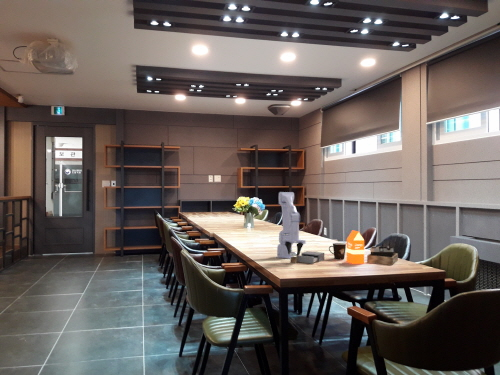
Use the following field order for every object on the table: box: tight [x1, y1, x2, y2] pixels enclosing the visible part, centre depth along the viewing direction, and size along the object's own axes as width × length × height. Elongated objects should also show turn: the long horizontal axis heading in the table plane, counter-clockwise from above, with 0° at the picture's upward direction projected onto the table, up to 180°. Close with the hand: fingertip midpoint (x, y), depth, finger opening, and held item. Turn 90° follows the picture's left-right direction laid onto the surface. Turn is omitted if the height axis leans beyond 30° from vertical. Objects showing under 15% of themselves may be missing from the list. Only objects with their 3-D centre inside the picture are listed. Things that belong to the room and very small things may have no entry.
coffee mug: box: [328, 242, 347, 261], centre depth 252 cm, size 12×9×10 cm
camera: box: [370, 245, 395, 257], centre depth 244 cm, size 15×11×10 cm
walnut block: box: [289, 256, 298, 264], centre depth 235 cm, size 3×3×4 cm
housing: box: [300, 250, 325, 263], centre depth 247 cm, size 12×10×4 cm
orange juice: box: [346, 229, 365, 265], centre depth 239 cm, size 8×9×20 cm
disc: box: [289, 251, 298, 257], centre depth 235 cm, size 6×6×2 cm
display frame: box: [366, 252, 399, 266], centre depth 244 cm, size 15×19×4 cm
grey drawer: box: [296, 254, 318, 264], centre depth 239 cm, size 11×10×4 cm
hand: (293, 254), depth 235 cm, fingers closed on disc, 5 cm apart
